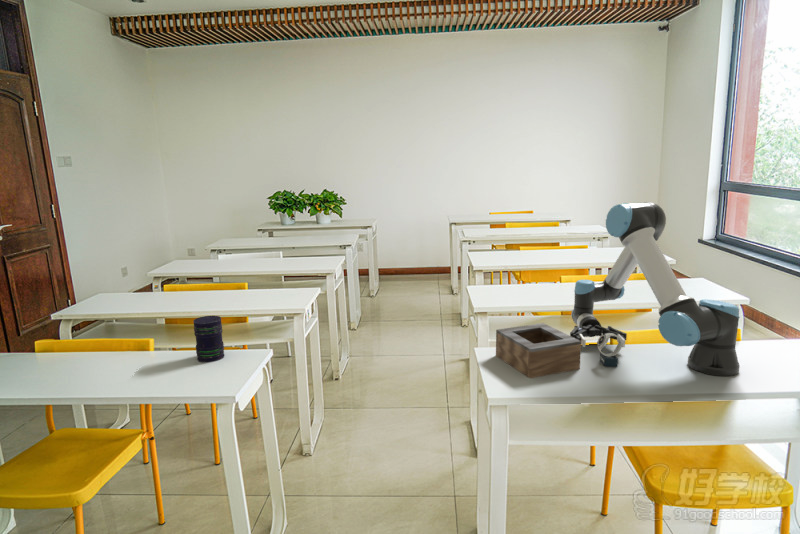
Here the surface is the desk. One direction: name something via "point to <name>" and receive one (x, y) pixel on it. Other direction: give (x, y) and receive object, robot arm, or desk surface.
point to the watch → (608, 358)
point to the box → (538, 349)
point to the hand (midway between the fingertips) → (604, 343)
